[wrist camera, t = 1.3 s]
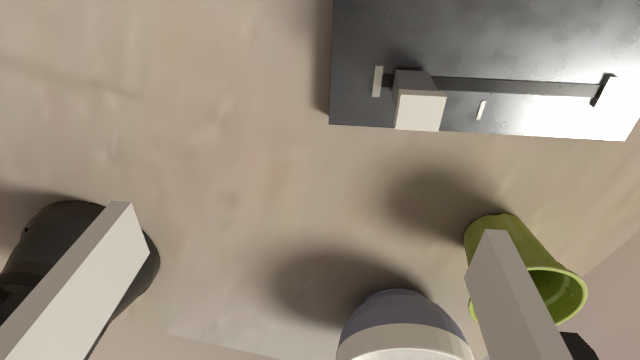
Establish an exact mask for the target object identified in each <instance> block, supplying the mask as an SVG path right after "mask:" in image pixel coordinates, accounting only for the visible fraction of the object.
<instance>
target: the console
mask: <svg viewBox="0 0 640 360" xmlns="http://www.w3.org/2000/svg"><path fill="white" fill-rule="evenodd" d="M395 70H412V71H428V72H429V74H430V76H431V78H432V80H433V82H434V84H435V86H436V88H437V89H438V91H444V92H445V94H446V96H447V99H446V103H445V107H444V111H443V115H442V119H441V123H440V127H439V131H456V132H474V133H492V134H509V135H527V136H545V137H563V138H580V139H598V140H616V141H625V139H626V138H627V136H628V134H629V133H630V131H631V130H632V128H633V126H634V125H635V123H636V122H637V120H638V118H639V117H640V0H334V9H333V34H332V58H331V82H330V106H329V124H332V125H350V126H368V127H385V128H395V127H394V119H395V109H394V104H393V100H392V89H393V82H394V75H395Z"/></svg>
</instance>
